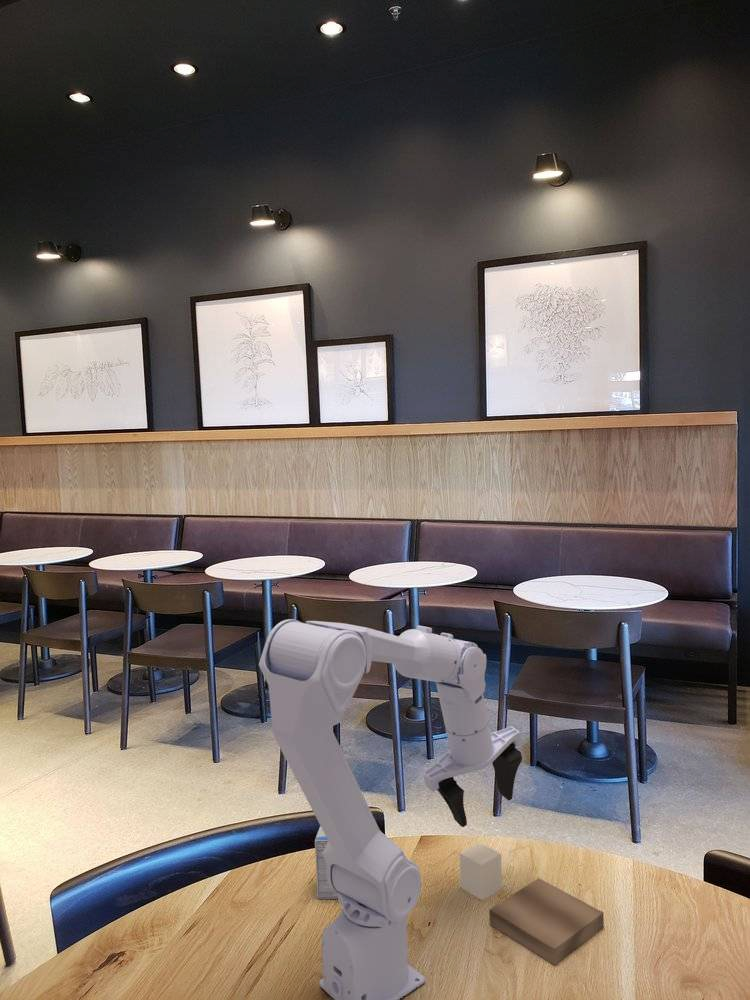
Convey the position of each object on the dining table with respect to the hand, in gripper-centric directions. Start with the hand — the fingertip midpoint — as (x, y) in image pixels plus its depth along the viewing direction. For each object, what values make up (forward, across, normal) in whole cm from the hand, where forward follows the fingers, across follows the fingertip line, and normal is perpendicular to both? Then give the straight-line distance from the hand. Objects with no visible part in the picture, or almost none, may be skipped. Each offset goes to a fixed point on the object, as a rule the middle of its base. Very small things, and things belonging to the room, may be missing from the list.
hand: (483, 809), depth 100 cm
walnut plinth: (+10, 0, +11) cm, 15 cm away
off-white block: (+11, +3, +1) cm, 11 cm away
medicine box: (+8, +19, -8) cm, 22 cm away
